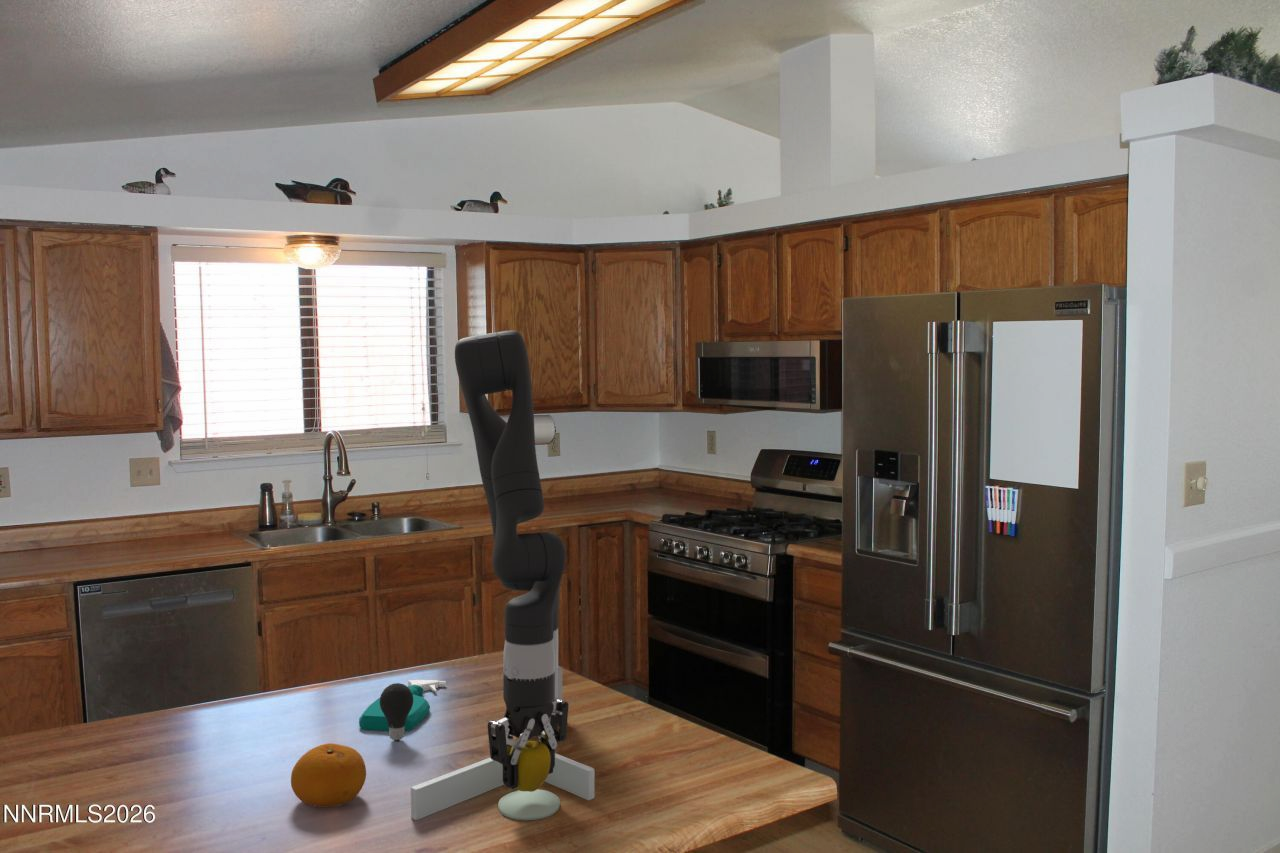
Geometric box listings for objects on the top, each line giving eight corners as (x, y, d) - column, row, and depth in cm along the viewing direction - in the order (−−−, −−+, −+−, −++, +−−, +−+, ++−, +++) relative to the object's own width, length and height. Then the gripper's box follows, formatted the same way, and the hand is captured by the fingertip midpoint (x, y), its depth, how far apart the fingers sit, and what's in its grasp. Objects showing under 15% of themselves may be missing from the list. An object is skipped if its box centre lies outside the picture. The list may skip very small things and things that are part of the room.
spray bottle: (353, 732, 179) (400, 688, 204) (413, 735, 178) (453, 690, 202) (353, 716, 179) (399, 673, 203) (413, 718, 178) (453, 675, 202)
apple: (498, 795, 148) (498, 742, 148) (520, 778, 154) (520, 727, 154) (537, 803, 146) (538, 749, 145) (557, 785, 152) (558, 733, 151)
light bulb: (405, 748, 171) (404, 690, 170) (374, 745, 172) (373, 688, 171) (419, 736, 177) (418, 680, 176) (388, 733, 178) (388, 677, 177)
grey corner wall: (529, 770, 163) (529, 742, 163) (594, 797, 153) (594, 768, 153) (411, 817, 146) (410, 787, 146) (475, 852, 137) (475, 819, 136)
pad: (531, 787, 157) (531, 783, 156) (572, 805, 151) (572, 801, 150) (485, 806, 150) (485, 802, 150) (526, 826, 144) (526, 822, 144)
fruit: (326, 823, 144) (325, 768, 144) (277, 805, 150) (276, 752, 149) (381, 796, 153) (380, 744, 153) (333, 780, 159) (332, 730, 158)
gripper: (548, 652, 156) (547, 758, 158) (473, 674, 146) (474, 787, 147) (582, 663, 151) (581, 772, 153) (508, 686, 141) (508, 803, 142)
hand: (529, 779), depth 150 cm, fingers closed on apple, 6 cm apart
